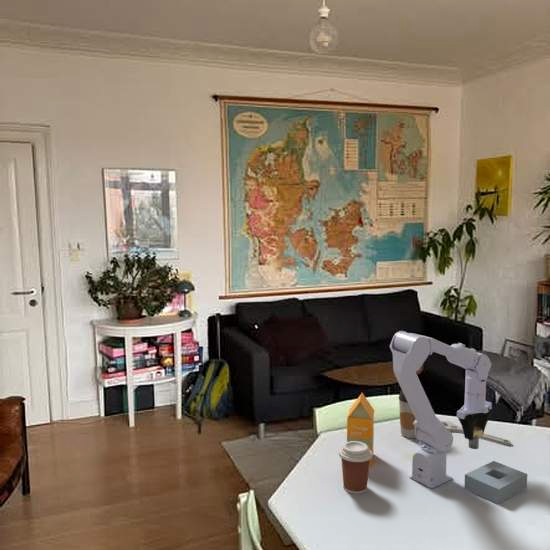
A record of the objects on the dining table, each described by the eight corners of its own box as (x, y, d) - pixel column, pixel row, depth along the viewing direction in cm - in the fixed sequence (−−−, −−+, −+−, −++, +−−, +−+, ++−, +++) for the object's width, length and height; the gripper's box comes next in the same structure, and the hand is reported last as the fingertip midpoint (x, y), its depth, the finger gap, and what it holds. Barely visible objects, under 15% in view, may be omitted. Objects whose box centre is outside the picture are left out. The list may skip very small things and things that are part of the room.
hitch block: (498, 504, 135) (498, 489, 134) (464, 488, 143) (464, 474, 142) (526, 488, 143) (527, 474, 142) (493, 474, 151) (493, 460, 150)
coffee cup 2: (425, 433, 181) (426, 391, 179) (418, 441, 174) (419, 398, 172) (402, 428, 185) (403, 387, 184) (394, 436, 178) (395, 394, 177)
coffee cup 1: (377, 485, 145) (377, 444, 144) (363, 499, 137) (363, 456, 136) (347, 476, 150) (347, 436, 149) (332, 490, 142) (332, 448, 141)
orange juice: (346, 463, 158) (346, 400, 156) (349, 451, 166) (349, 391, 165) (372, 466, 156) (373, 402, 154) (374, 454, 165) (374, 392, 163)
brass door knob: (475, 452, 151) (476, 433, 151) (461, 446, 155) (462, 428, 155) (485, 447, 154) (486, 429, 153) (471, 442, 158) (471, 424, 157)
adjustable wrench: (512, 445, 172) (512, 440, 171) (503, 451, 167) (503, 446, 167) (443, 424, 190) (443, 419, 190) (433, 428, 186) (434, 424, 185)
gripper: (472, 400, 146) (471, 447, 147) (501, 391, 154) (500, 435, 155) (451, 394, 151) (449, 439, 153) (480, 385, 160) (478, 427, 161)
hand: (473, 436), depth 154 cm, fingers closed on brass door knob, 5 cm apart
